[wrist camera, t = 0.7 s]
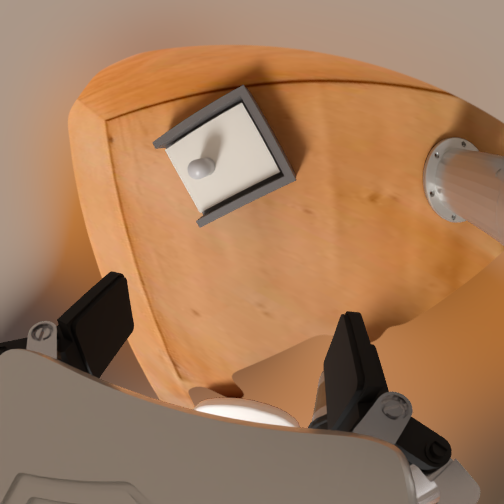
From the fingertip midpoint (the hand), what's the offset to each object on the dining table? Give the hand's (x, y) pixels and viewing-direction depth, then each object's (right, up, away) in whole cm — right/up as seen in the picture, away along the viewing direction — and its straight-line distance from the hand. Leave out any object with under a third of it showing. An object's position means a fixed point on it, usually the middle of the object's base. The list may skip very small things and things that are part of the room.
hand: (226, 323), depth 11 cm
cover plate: (-3, +15, +23) cm, 28 cm away
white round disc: (0, -39, +48) cm, 62 cm away
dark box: (-3, +16, +24) cm, 29 cm away
